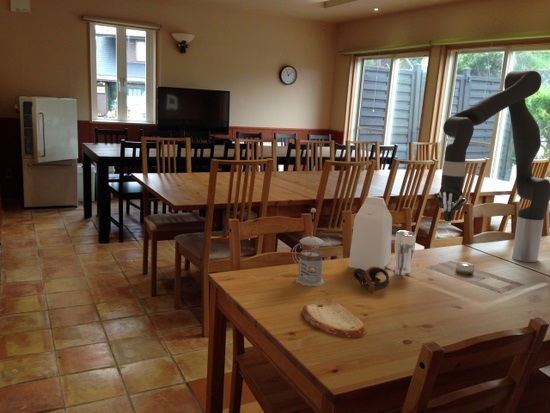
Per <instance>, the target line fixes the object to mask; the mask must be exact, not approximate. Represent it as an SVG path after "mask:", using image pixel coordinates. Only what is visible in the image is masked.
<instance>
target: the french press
mask: <svg viewBox="0 0 550 413" xmlns="http://www.w3.org/2000/svg"><path fill="white" fill-rule="evenodd" d="M310 213H312V218H314V215H315V214H314V213H317V209H316V208H314V207H311V209H310ZM311 224H312V227H311V229H312V230H311V236H305V237H303V238H301V239H299V243H298V244H295V246H294V247H293V249H292V252H291V253H292V259H293V261H294V263H295V264H296V265H297V266H298V276H297V277H298V278H297V277H296V278H295V279H297V281H298V282H299V283H301V284H304V285H308V286H307V287H318V286H322V285H324V283H325V281H324V279H323V278H322V277H323V276H322V272H323V256H322V255H323V253H322V252H320V251H318V250H312V249H313V247H320V246H323V245H324V244H325V242H324V240H323V239H321V238H319V237H318V236H317V237H316V236H313V232H314V231H313V230H314V223H311ZM304 246H309V247H311V248H310V249H308V250H307V249H305V250H302V251H300V256H299V257H298V258H299V259H298V258H297V255H296V252H297V251H296V250H297V247H299V248H300V249H302V248H304ZM294 257H295V258H294ZM295 259H296V260H295ZM297 262H298V263H297ZM301 284H300V285H301ZM304 285H303V286H304Z"/></svg>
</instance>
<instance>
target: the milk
mask: <svg viewBox="0 0 550 413" xmlns="http://www.w3.org/2000/svg"><path fill="white" fill-rule="evenodd" d="M386 205H387V204H386V200H385V199H384V197H376V196H369V195H368V196H366V197H365V199H364V201H363V204H362V205H361V207H360V209H358V212H357V213H356V215H355V217H354V220H353V226H352V235H351V243H350V251H349V261H348V267H349V268H352V269H357V268H360V269H363V270H365V271H366V270H368V269H369V268H370V267H380V268H382V269H384V270H385V271H386V269H388V267H387V266H389V265H391V260H392V257H391V256H392V235H393V234H392V231H393V216H392V214H391V213H390V210H389V209H388V207H387V206H386ZM381 273H382V272H380V273H378V274H381Z"/></svg>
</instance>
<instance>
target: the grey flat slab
mask: <svg viewBox="0 0 550 413" xmlns="http://www.w3.org/2000/svg"><path fill="white" fill-rule="evenodd" d="M456 263H457V262H456V261H452V260H449V261H445V262H441V263H437V264H433V265H430V266H426V267H425V268H427V269H429V270H432V271H435V272H437V273H441V274H444V275H447V276H450V277H452V278H455V279H459V280H462V281H465V282H468V283H470V284H473V285H476V286H479V287H482V288H485V289H488V290H491V291H494V292H496V293H498V294H499V293H500V294H502V293H505V292H509V291H511V290H514V289H517V288H518V287H522V286H524V285H525V284H524V283H522V282H518V281H517V280H516V281H515V280H513V279H510V278H506V277H503V276H499V275H497V274H494V273H490V272H487V271H484V270H480V269H478V268H475V267H474V273H473V275H461V274H458V273H456ZM489 278H493V279H496V280H498V281H502V282H504V283H508V285H505V286H502V287H496V286H493V285H491V284H487V283H485V282H481V280H485V279H489Z"/></svg>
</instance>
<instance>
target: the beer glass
mask: <svg viewBox="0 0 550 413" xmlns="http://www.w3.org/2000/svg"><path fill="white" fill-rule="evenodd" d="M416 235H417V234H416V232H413V231H409V230H398V231H396V233H395V240H394V256H395V257H394V258H395V259H394V260H395V265H394V269H393V274H394V275H396V276H400V277H410V275H409V274H410V273H411V272H412V270H411V269H412V268H411V266H412V261H413V258H414V253H415V250H416V249H415V248H416Z"/></svg>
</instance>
